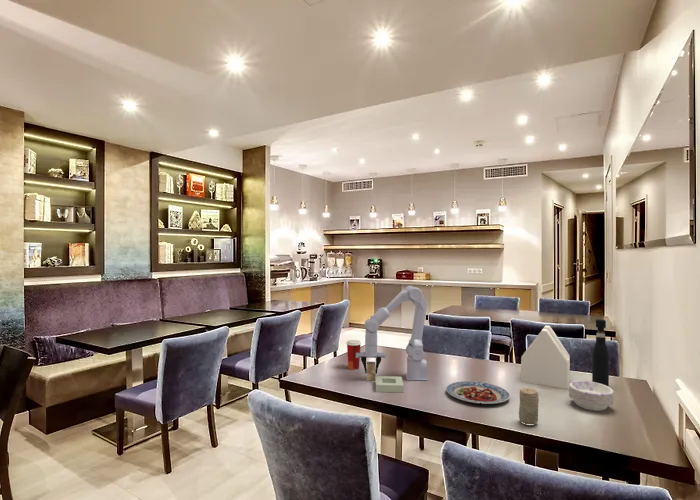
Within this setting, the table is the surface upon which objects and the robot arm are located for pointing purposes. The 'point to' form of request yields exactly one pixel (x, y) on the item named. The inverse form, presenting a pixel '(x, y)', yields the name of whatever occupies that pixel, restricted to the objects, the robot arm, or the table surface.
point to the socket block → (389, 384)
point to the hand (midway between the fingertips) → (371, 372)
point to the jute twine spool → (528, 406)
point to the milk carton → (546, 361)
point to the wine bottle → (600, 356)
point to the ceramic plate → (478, 392)
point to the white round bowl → (591, 395)
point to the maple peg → (370, 371)
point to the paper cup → (353, 353)
